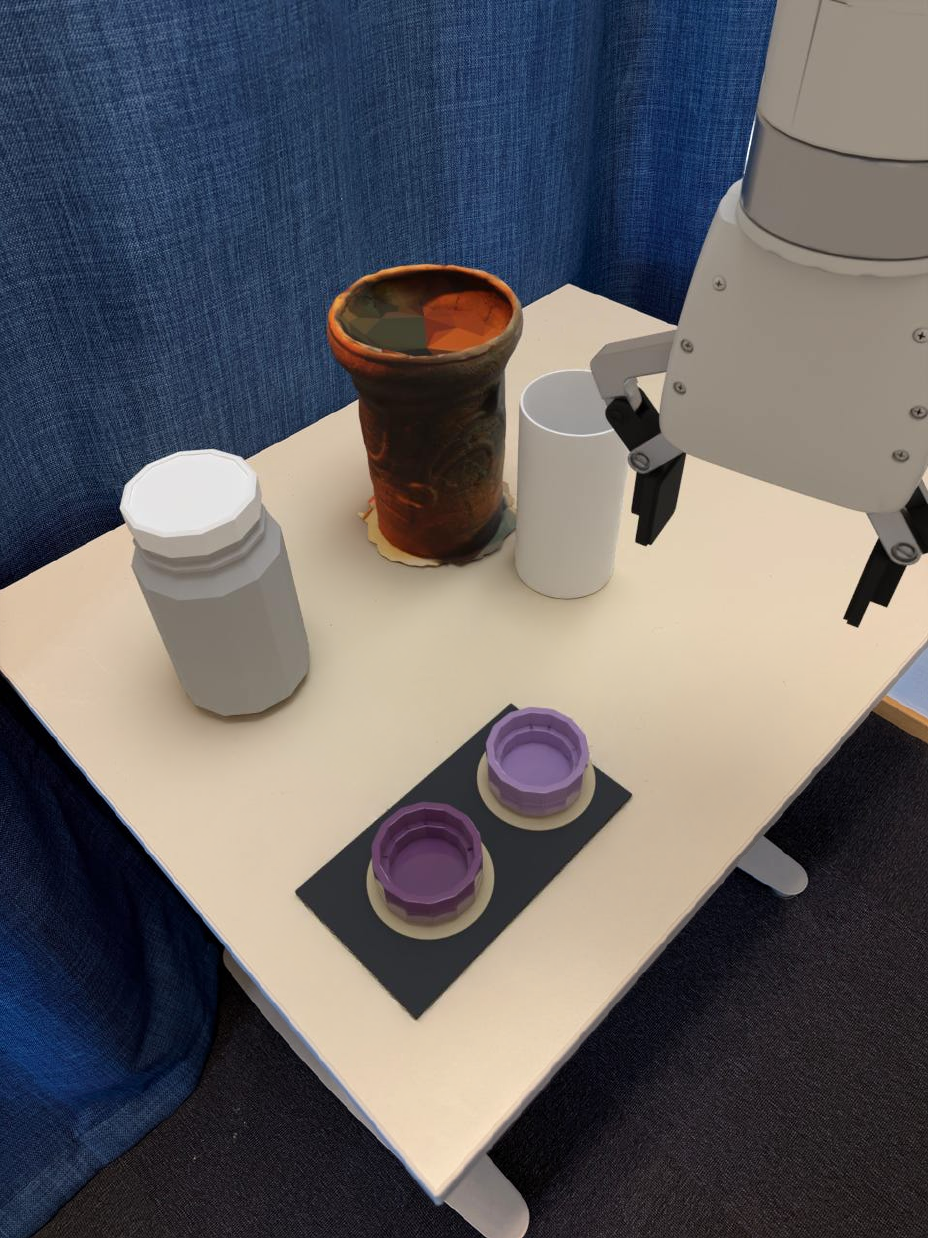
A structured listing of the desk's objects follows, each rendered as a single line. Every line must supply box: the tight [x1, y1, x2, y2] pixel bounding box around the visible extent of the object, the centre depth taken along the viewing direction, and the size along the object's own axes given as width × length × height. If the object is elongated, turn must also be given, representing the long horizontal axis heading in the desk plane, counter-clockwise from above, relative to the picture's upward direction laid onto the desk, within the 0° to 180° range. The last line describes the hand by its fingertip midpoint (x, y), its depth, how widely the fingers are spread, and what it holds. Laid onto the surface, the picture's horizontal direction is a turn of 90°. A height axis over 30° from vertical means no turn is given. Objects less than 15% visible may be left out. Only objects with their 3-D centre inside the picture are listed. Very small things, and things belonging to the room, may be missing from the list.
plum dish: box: [372, 802, 483, 925], centre depth 55 cm, size 7×7×3 cm
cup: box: [514, 368, 630, 600], centre depth 70 cm, size 8×8×16 cm
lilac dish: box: [486, 706, 590, 816], centre depth 60 cm, size 7×7×3 cm
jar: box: [119, 448, 310, 717], centre depth 62 cm, size 10×10×18 cm
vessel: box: [326, 263, 524, 567], centre depth 73 cm, size 14×14×20 cm
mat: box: [294, 702, 633, 1021], centre depth 59 cm, size 20×11×1 cm, turn 136°
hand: (752, 564), depth 41 cm, fingers open, 9 cm apart
